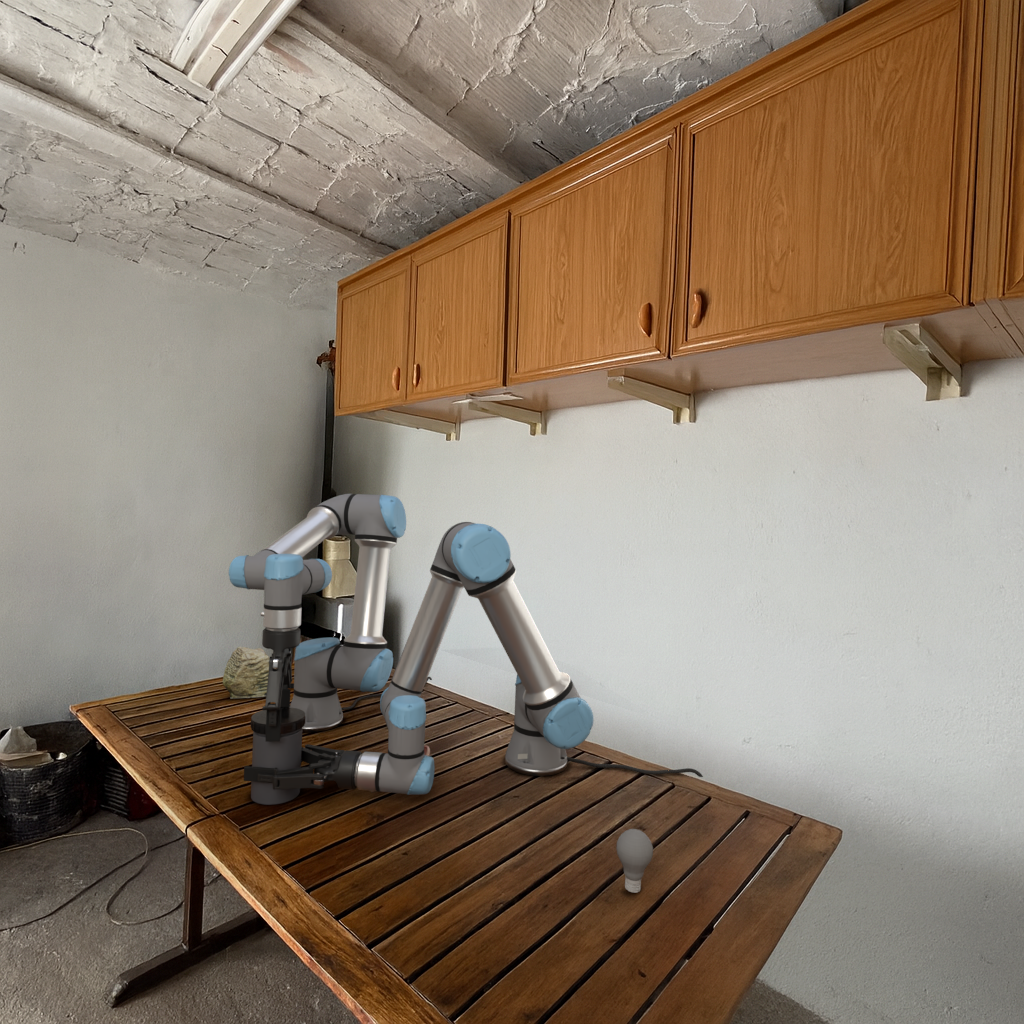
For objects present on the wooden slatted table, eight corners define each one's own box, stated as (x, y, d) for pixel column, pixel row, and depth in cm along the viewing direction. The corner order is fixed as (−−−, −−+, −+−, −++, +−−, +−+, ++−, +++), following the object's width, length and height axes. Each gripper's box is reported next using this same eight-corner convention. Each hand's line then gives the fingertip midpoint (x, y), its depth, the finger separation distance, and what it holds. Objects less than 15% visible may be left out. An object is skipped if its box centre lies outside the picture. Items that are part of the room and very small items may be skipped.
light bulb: (610, 879, 108) (613, 822, 108) (644, 879, 109) (647, 822, 109) (619, 902, 102) (622, 840, 102) (655, 901, 103) (658, 840, 103)
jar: (242, 803, 130) (245, 727, 129) (262, 782, 139) (265, 711, 139) (289, 806, 129) (292, 729, 129) (306, 784, 139) (309, 713, 139)
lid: (244, 735, 128) (244, 724, 128) (257, 716, 139) (258, 707, 139) (299, 734, 129) (300, 724, 129) (309, 716, 140) (309, 706, 140)
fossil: (218, 695, 195) (220, 647, 195) (278, 685, 208) (279, 640, 207) (228, 703, 189) (230, 653, 188) (289, 692, 201) (290, 645, 201)
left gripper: (273, 616, 145) (269, 710, 145) (251, 640, 121) (246, 752, 121) (307, 616, 146) (303, 709, 147) (292, 640, 122) (288, 751, 123)
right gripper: (340, 814, 122) (229, 805, 123) (374, 766, 144) (279, 758, 146) (342, 775, 122) (230, 767, 123) (375, 733, 144) (280, 726, 146)
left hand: (278, 729), depth 134 cm, fingers open, 12 cm apart
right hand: (256, 762), depth 134 cm, fingers closed on jar, 10 cm apart
